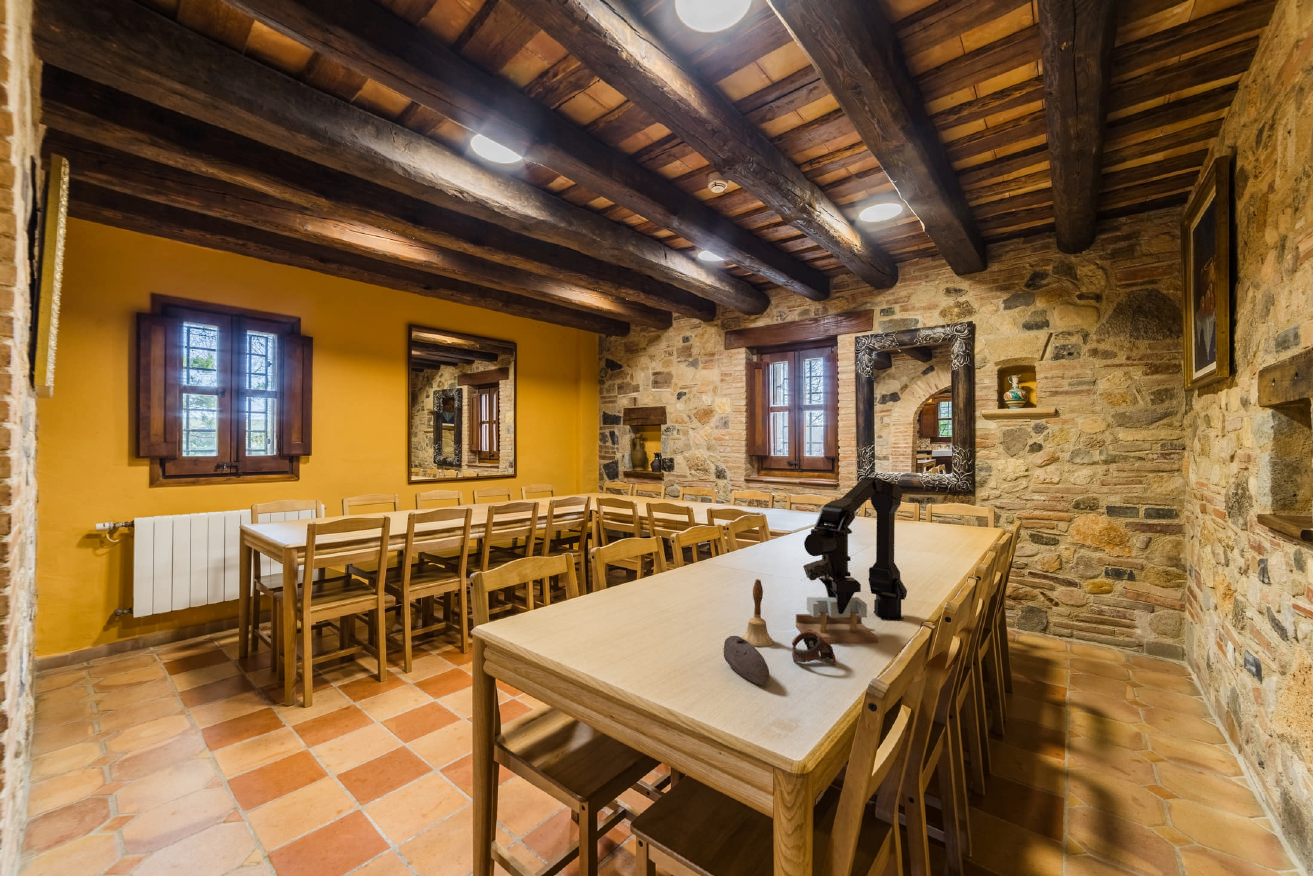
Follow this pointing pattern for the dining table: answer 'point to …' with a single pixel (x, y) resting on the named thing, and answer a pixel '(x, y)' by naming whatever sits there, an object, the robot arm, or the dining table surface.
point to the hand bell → (757, 621)
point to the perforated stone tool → (746, 660)
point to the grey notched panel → (835, 607)
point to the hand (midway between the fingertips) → (836, 609)
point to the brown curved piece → (812, 647)
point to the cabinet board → (836, 628)
